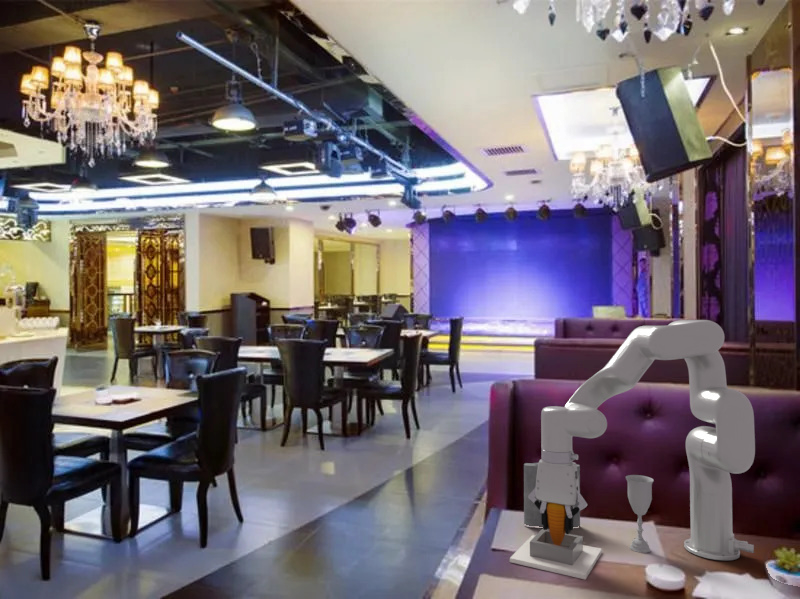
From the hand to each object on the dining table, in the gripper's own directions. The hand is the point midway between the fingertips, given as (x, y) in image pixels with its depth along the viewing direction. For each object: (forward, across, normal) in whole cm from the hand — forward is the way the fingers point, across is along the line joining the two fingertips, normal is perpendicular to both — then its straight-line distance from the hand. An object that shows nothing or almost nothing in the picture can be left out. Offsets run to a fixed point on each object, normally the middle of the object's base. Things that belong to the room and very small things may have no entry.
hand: (557, 529), depth 142 cm
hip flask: (+7, +7, -21) cm, 23 cm away
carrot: (+5, 0, 0) cm, 5 cm away
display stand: (+7, 0, 0) cm, 7 cm away
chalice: (+7, -17, -17) cm, 25 cm away
